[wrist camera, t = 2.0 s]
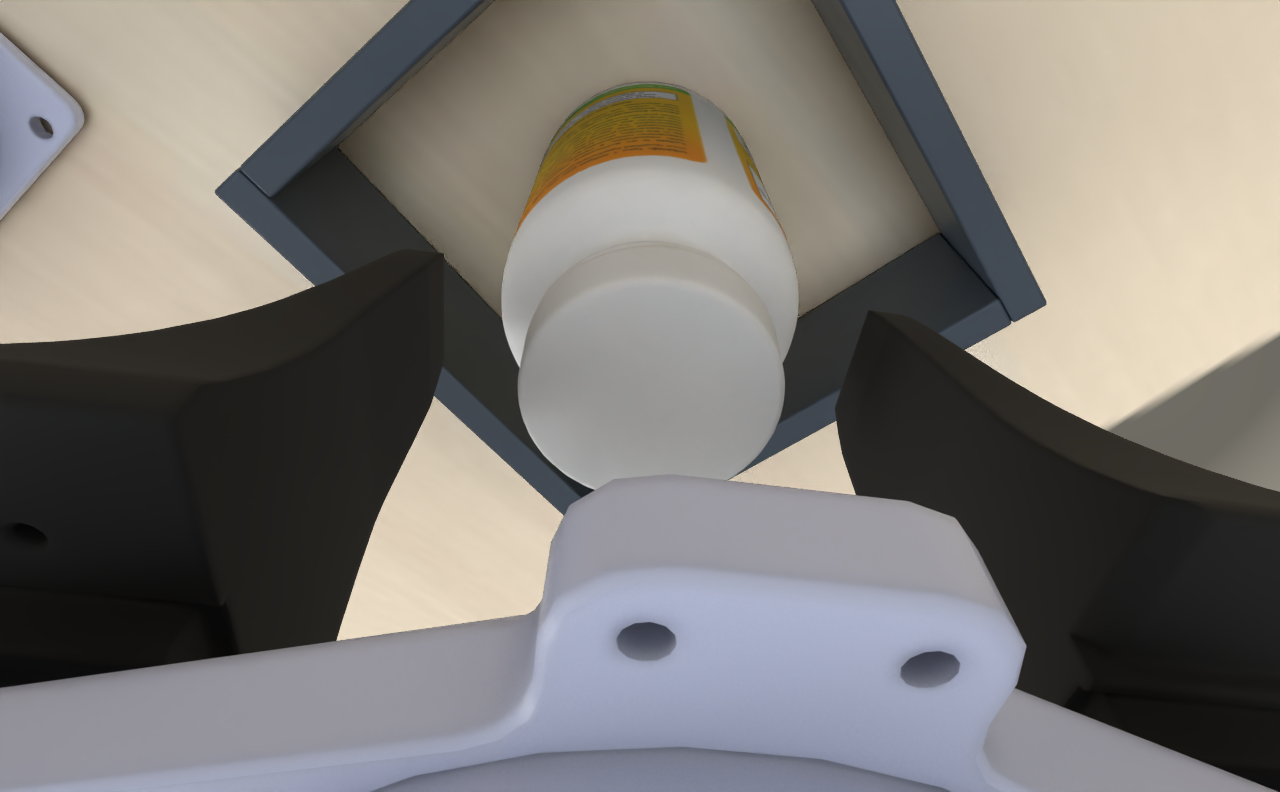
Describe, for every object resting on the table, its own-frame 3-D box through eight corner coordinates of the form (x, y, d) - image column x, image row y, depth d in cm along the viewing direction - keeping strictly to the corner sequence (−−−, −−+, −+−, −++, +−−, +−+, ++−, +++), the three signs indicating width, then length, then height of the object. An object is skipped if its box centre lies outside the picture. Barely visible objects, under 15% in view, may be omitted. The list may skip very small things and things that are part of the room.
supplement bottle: (505, 223, 20) (409, 451, 11) (608, 29, 17) (578, 147, 9) (678, 318, 21) (700, 579, 13) (796, 154, 19) (915, 351, 10)
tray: (607, 460, 24) (600, 551, 21) (290, 140, 18) (212, 192, 15) (980, 236, 20) (1049, 305, 16) (714, -268, 14) (736, -318, 11)
